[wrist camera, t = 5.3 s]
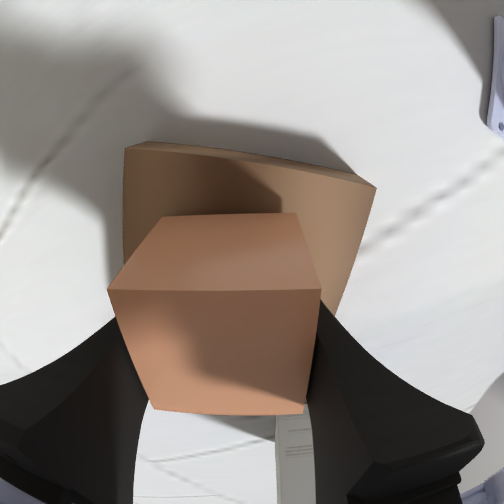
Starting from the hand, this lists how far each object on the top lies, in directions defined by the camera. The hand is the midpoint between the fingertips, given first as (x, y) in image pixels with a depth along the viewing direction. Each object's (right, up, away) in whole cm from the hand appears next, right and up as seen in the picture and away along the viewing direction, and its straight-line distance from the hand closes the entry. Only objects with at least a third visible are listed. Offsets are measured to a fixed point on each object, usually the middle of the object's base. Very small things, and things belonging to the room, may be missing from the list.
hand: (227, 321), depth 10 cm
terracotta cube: (0, +2, +2) cm, 2 cm away
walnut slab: (0, +3, +5) cm, 6 cm away
